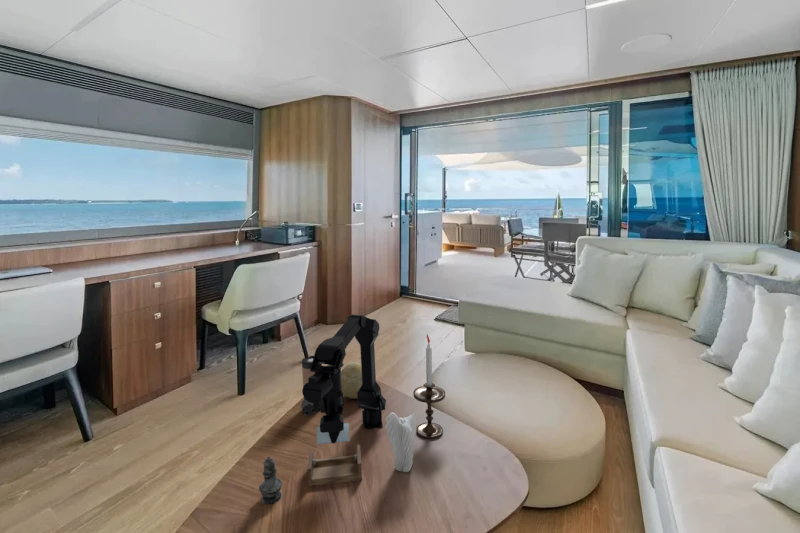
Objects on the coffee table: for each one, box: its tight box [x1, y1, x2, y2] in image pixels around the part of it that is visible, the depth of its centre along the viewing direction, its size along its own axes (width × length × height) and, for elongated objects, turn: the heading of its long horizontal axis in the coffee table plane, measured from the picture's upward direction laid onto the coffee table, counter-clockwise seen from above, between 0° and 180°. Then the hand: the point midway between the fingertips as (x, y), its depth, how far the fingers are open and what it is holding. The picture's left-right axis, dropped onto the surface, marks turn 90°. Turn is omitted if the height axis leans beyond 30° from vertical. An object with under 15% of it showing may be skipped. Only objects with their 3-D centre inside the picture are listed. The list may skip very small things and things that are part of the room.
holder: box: [306, 444, 363, 487], centre depth 113 cm, size 15×9×5 cm, turn 98°
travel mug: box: [301, 355, 323, 400], centre depth 151 cm, size 8×8×20 cm
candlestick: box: [412, 333, 446, 440], centre depth 131 cm, size 11×11×35 cm
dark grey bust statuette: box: [258, 455, 283, 506], centre depth 103 cm, size 6×6×12 cm
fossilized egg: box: [341, 361, 362, 400], centre depth 159 cm, size 13×13×15 cm
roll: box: [316, 422, 350, 445], centre depth 112 cm, size 9×5×5 cm, turn 98°
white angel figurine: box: [385, 411, 417, 473], centre depth 114 cm, size 8×8×18 cm
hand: (333, 437), depth 112 cm, fingers closed on roll, 5 cm apart
